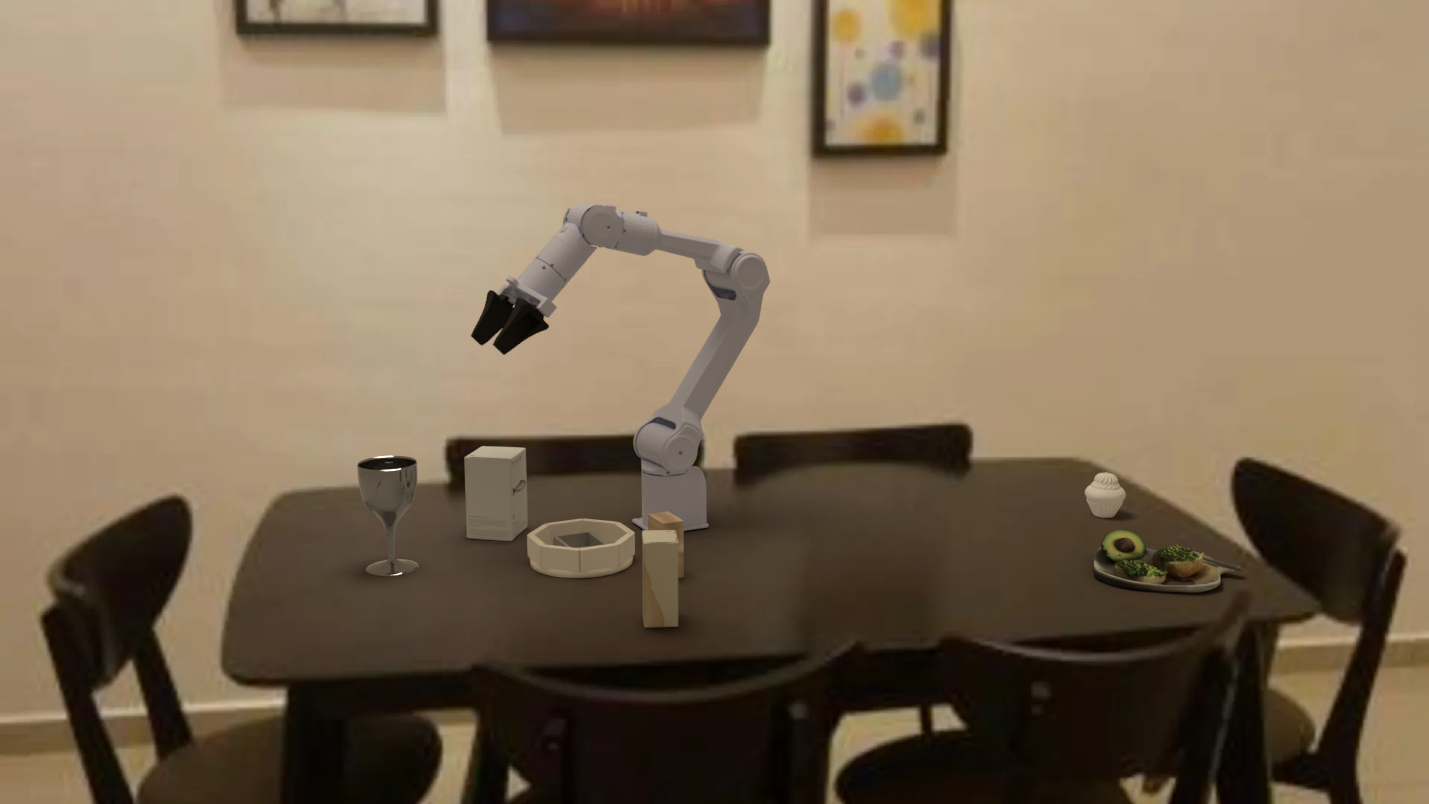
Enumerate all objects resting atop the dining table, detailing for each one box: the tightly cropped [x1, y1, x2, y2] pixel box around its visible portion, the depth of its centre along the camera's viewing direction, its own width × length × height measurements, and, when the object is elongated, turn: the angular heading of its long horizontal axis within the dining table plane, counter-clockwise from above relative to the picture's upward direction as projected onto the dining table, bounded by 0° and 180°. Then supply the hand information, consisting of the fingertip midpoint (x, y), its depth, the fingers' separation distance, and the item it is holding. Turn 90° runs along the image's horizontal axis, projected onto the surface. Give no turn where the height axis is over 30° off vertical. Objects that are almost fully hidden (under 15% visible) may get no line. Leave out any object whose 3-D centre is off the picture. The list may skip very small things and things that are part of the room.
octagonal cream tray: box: [526, 518, 636, 579], centre depth 193 cm, size 14×14×4 cm
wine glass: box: [356, 455, 420, 577], centre depth 189 cm, size 8×8×15 cm
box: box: [641, 530, 679, 629], centre depth 169 cm, size 5×4×11 cm
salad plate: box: [1091, 529, 1243, 593], centre depth 188 cm, size 19×18×5 cm
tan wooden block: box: [648, 511, 685, 579], centre depth 187 cm, size 3×5×8 cm, turn 26°
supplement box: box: [463, 445, 529, 542], centre depth 205 cm, size 7×7×13 cm
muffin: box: [1084, 471, 1127, 519], centre depth 215 cm, size 6×6×7 cm
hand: (487, 345), depth 189 cm, fingers open, 7 cm apart
